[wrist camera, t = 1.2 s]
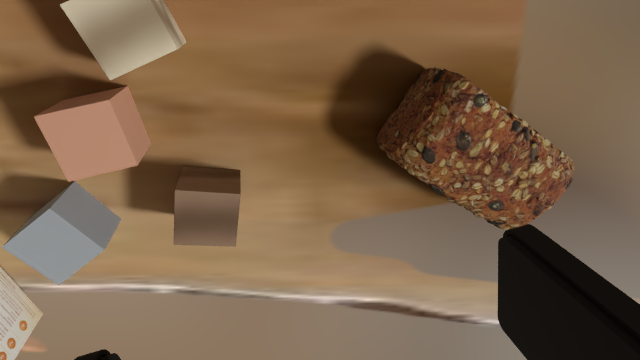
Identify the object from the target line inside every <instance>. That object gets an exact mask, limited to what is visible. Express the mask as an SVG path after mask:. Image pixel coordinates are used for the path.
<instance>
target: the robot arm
mask: <svg viewBox="0 0 640 360" xmlns="http://www.w3.org/2000/svg"><path fill="white" fill-rule="evenodd" d="M498 320H499V323H500V325H501V327H502V329H503V331H504V332H505V333H506V334H507V336H508V337H509V338H510V339H511V340H512V341H513V343H514V344H515V345H516V347H517V348H518V349H519V350H520V351H521V352H522V354H523V355H524V356H525V357H526V358H527V360H640V304H638V303H637V302H636V301H634V300H633V299H632V298H630V297H629V296H627V295H626V294H625V293H623V292H622V291H621V290H619V289H618V288H616V287H615V286H614V285H612V284H611V283H610V282H608V281H607V280H606V279H604V278H603V277H602V276H600V275H599V274H598V273H596V272H595V271H594V270H592V269H591V268H590V267H588V266H587V265H585V264H584V263H582V262H581V261H580V260H579V259H577V258H576V257H575V256H573V255H572V254H571V253H569V252H568V251H567V250H565V249H564V248H562V247H561V246H560V245H558V244H557V243H556V242H554V241H553V240H552V239H550V238H549V237H548V236H546V235H545V234H543V233H542V232H541V231H539V230H538V229H537V228H535V227H534V226H532V225H529V224H526V225H523V226H519V227H516V228H513V229H509V230H507V231H505V232H504V234H503V238H501V239H500V240H499V243H498ZM74 360H121V359H120V357H119V356H118V355H117V354H115V353H113V354H110V352H109V351H107V350H100V351H96V352H93V353H90V354H86V355H83V356H79V357H77V358H76V359H74Z"/></svg>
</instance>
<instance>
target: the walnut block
mask: <svg viewBox="0 0 640 360" xmlns="http://www.w3.org/2000/svg"><path fill="white" fill-rule="evenodd" d="M239 205H240V170H229V169H216V168H203V167H190V166H183V167H182V170H181V173H180V176H179V179H178V182H177V185H176V188H175V204H174V245H201V246H234V247H236V237H237V226H238V215H239Z"/></svg>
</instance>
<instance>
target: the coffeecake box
mask: <svg viewBox="0 0 640 360" xmlns="http://www.w3.org/2000/svg"><path fill="white" fill-rule="evenodd" d="M42 315H43V313H42V312H41V311H40V310H39V309H38V308H37V307H36V305H35V304H33V302H32V301H31V300H30V299H29V298H28V297H27V296H26V295H25V293H24V292H23V291H22V290H21V289H20V288H19V287H18V286H17V285H16V283H15V282H14V281H13V280H12V279H11V278H10V277H9V276H8V275H7V274H6V272H5V271H4V270H3V269H2V268H1V267H0V360H15V358H16V356H17V355H18V353H19V352H20V350H21V349H22V347H23V345H24V344H25V342H26V341H27V339H28V337H29V336H30V334H31V333H32V331H33V329H34V328H35V326H36V325H37V323H38V321H39V320H40V318H41V316H42Z"/></svg>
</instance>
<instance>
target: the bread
mask: <svg viewBox="0 0 640 360" xmlns="http://www.w3.org/2000/svg"><path fill="white" fill-rule="evenodd" d="M376 141H377V142H378V145H379V146H380V148H381V149H382V150H384V151H385V152H386V154H387V156H388V157H389V158H390V159H392V160H394V161H395V162H397V163H398V165H399V166H400V167H402V168H404V169H405V170H406V171H407V172H409V173H410V174H411V175H413V176H415V177H416V178H417V179H419V180H420V181H422V182H424V183H426V184H427V185H428V186H429V187H431V189H432V190H433V191H434V192H436V193H438V194H440V195H443V196H445V197H446V198H447V199H448V200H449V201H452V202H453V203H456V204H457V205H459V206H464V208H465V209H466V210H469V211H471V212H472V213H473V214H474V215H475V216H476V217H479V218H484V219H486V220H487V222H488V223H491V224H494V225H495V226H496V227H498V228H501V229H505V230H509V229H513V228H516V227H519V226H523V225H526V224H528V223H529V222H531V221H532V220H534V219H535V218H537V217H538V216H540V215H541V214H542V213H543V212H544V211H545V210H547V209H550V208H551V207H552V206H553V204H554V203H556V202H557V200H558V199H559V198H560V196H561V195H562V194H563V192H564V191H565V190H566V189H567V188H568V187H569V186H570V184H571V182H572V174H573V172H574V170H575V168H574V164H573V161H572V160H571V158H569V157H568V156H566V155H564V154H563V152H562V151H560V150H558V149H557V148H556V147H554V146H553V144H552V143H551V142H549V141H548V140H547V139H545V138H544V136H542V135H541V134H540V133H538V132H537V131H536V130H534V129H533V128H532V127H530V126H529V125H528V124H527V122H525V121H523V120H522V119H519V118H518V117H517V116H516V115H514V114H513V113H511V112H510V111H509V110H507V109H506V108H505V107H503V106H501V105H500V104H498V103H497V102H496V101H495V100H494V99H493V98H492V97H491V96H490V95H488V94H487V93H486V92H485V91H483V90H482V89H481V88H479V87H478V86H476V85H474V84H473V83H471V82H470V81H469V80H468V79H467V78H466V77H463V76H462V75H460V74H458V73H454V72H449V71H448V70H446V69H444V70H441V69H439V68H437V67H434V69H433V68H428V69H425V70H423V71H422V72H421V73H420V75H419V76H418V79H417V81H416V82H414V83H413V84H412V85H411V86H410V88H409V89H408V91H407V93H406V95H405V97H404V100H403V101H401V103H400V105H399V107H398V109H397V110H396V111H394V112H393V113H392V114H391V115H390V116H389V118H388V119H387V121H386V122H385V124H384V126H383V127H382V128H381V129H380V131H379V133H378V135H377V136H376Z"/></svg>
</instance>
